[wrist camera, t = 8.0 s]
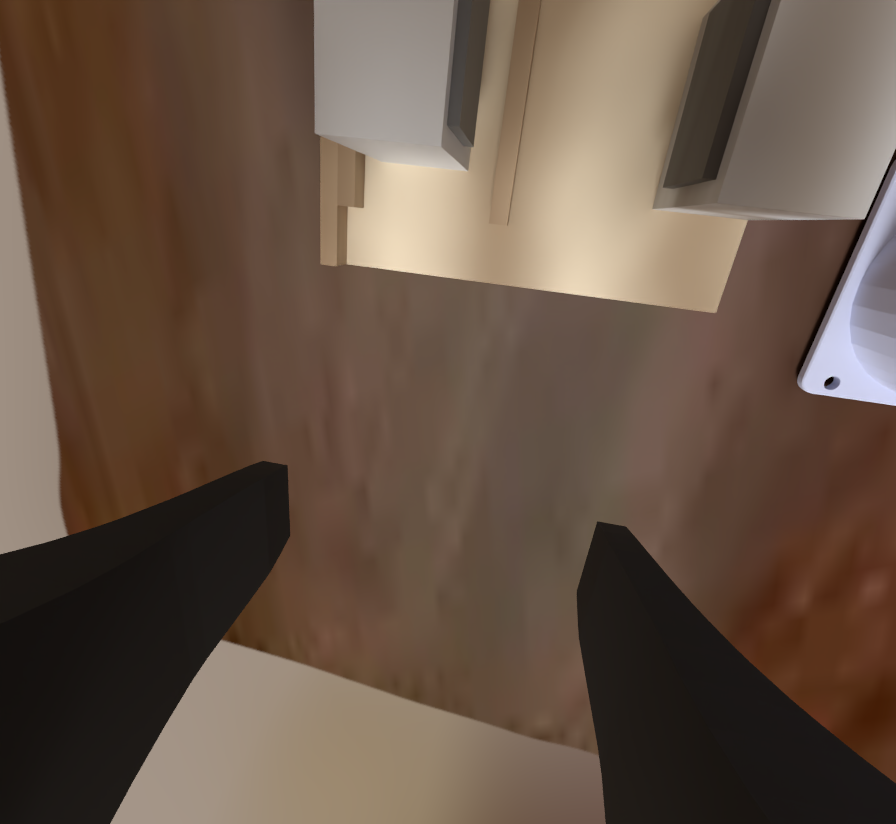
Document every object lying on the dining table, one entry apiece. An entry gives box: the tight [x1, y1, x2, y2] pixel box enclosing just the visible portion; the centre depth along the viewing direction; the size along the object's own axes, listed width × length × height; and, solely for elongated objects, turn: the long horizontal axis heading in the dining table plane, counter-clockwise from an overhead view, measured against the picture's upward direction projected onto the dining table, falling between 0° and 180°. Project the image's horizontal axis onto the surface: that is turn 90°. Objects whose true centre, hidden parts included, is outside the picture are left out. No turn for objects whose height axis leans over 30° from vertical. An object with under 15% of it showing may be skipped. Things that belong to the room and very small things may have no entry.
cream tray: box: [320, 0, 896, 313], centre depth 12 cm, size 14×11×7 cm
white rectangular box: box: [314, 0, 490, 171], centre depth 12 cm, size 3×5×6 cm, turn 173°
